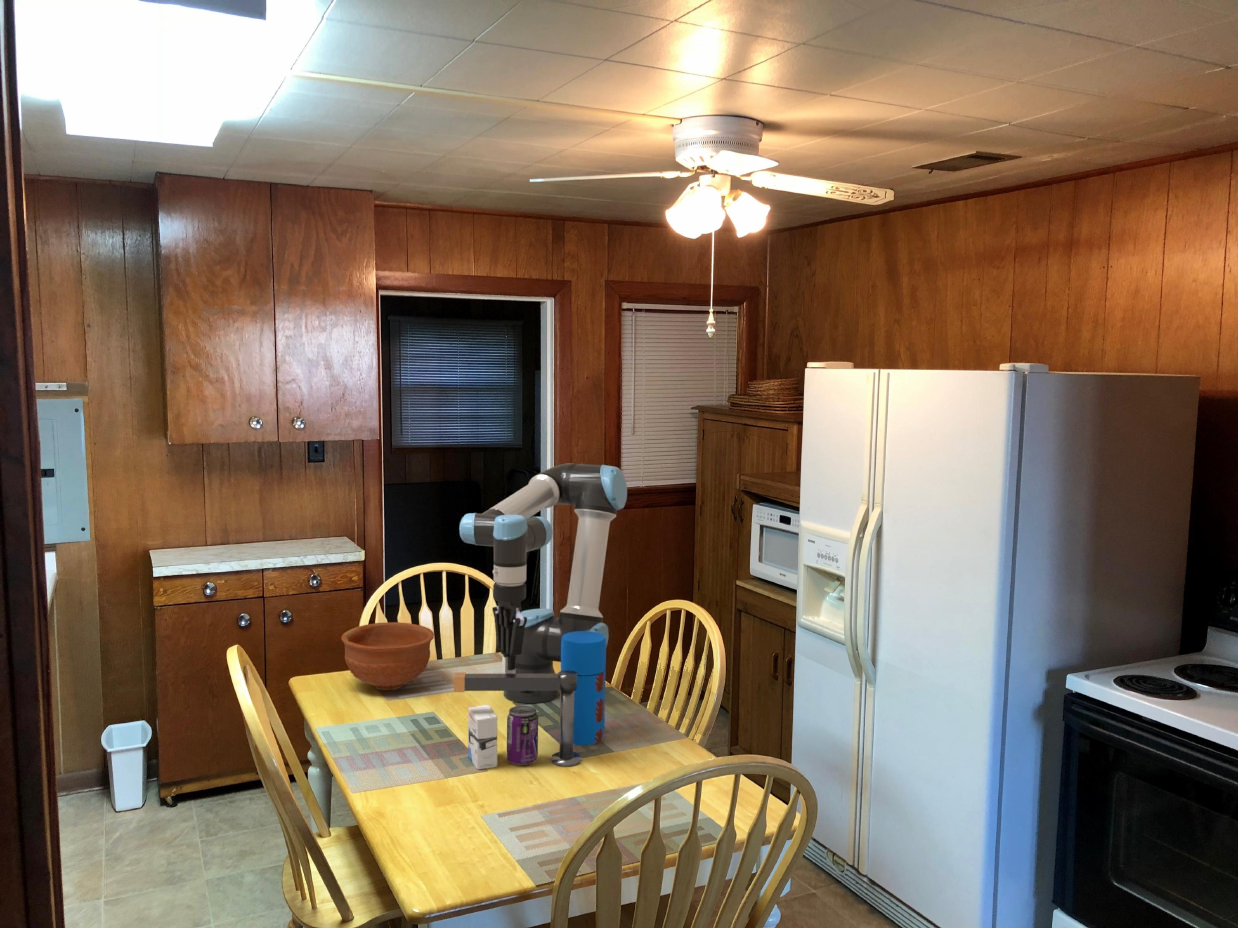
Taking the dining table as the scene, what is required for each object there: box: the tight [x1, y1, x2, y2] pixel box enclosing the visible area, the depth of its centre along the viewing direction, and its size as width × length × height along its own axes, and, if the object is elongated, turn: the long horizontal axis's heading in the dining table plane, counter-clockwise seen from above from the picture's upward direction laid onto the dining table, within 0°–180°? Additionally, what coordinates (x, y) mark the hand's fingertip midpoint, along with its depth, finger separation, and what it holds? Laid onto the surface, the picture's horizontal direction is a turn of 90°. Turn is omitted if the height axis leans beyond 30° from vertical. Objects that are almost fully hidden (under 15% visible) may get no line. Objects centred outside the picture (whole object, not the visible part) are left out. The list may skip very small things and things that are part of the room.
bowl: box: [341, 621, 435, 691], centre depth 267 cm, size 25×25×15 cm
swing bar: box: [453, 670, 577, 693], centre depth 217 cm, size 28×4×4 cm, turn 94°
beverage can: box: [506, 705, 539, 766], centre depth 219 cm, size 7×7×12 cm
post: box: [550, 691, 582, 768], centre depth 219 cm, size 7×7×16 cm
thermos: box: [560, 631, 607, 747], centre depth 233 cm, size 11×11×25 cm
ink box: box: [467, 704, 498, 770], centre depth 218 cm, size 8×5×12 cm, turn 23°
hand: (508, 681), depth 223 cm, fingers closed
